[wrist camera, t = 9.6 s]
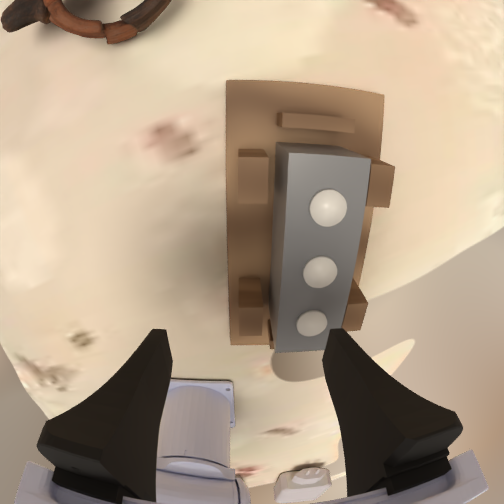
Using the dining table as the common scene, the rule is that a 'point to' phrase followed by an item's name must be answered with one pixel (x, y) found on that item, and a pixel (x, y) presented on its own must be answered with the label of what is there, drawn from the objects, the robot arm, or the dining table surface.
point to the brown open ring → (52, 10)
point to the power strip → (314, 241)
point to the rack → (263, 174)
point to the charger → (302, 485)
